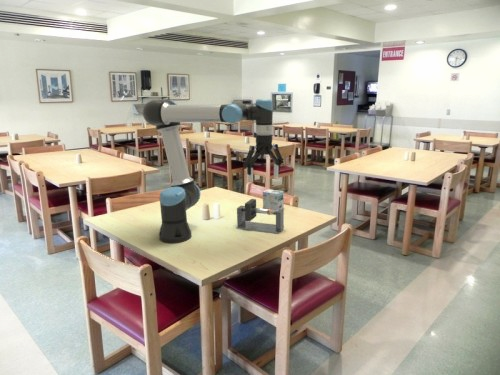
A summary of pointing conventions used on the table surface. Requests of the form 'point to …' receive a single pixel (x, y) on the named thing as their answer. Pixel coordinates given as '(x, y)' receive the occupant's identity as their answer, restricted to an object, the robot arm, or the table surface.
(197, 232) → the table surface
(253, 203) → the ring
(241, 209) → the pipe rig
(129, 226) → the table surface
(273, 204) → the light bulb box
